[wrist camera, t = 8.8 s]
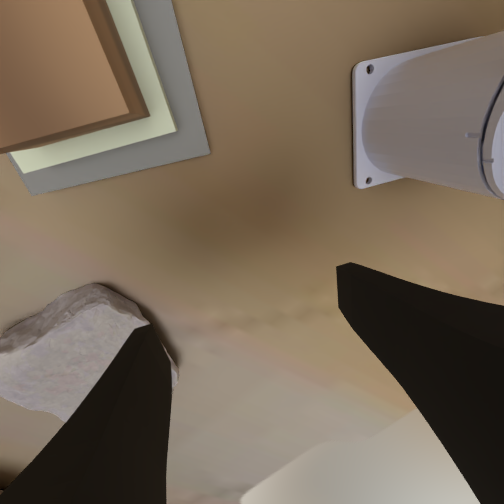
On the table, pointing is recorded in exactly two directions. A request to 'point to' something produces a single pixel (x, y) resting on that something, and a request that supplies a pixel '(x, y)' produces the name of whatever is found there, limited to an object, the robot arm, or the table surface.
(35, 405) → the stone block
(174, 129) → the sage block
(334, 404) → the table surface
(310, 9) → the table surface
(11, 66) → the walnut cube
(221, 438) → the table surface
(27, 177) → the grey square slab
